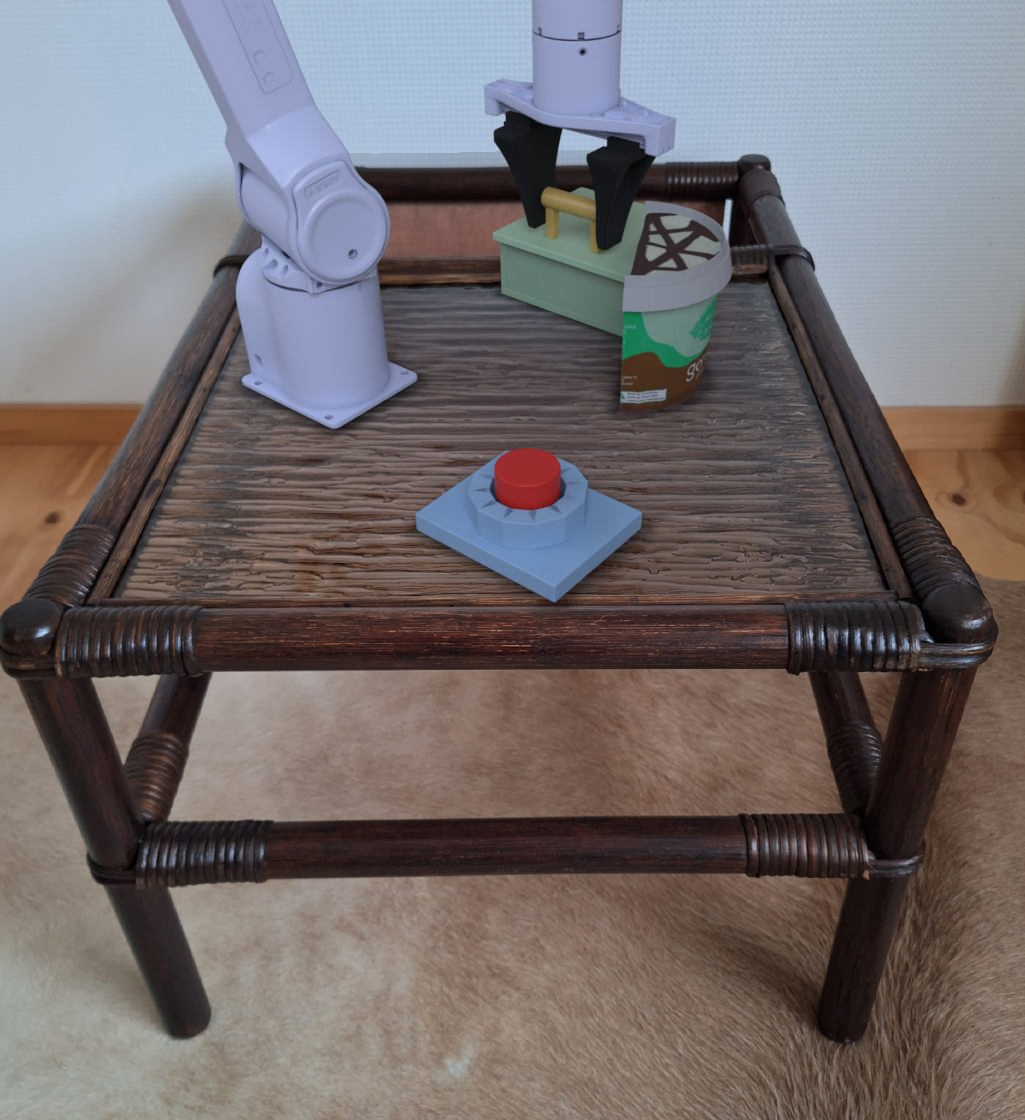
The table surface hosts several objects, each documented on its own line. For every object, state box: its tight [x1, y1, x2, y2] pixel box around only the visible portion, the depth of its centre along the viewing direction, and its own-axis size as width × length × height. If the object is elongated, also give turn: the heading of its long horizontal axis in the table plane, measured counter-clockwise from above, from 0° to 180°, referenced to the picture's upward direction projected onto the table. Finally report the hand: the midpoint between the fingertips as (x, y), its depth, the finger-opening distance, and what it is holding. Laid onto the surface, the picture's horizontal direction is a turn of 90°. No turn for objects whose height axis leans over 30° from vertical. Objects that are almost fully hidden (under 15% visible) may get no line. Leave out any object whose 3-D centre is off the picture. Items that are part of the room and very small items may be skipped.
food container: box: [619, 200, 733, 414], centre depth 70 cm, size 12×6×10 cm, turn 168°
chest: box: [499, 242, 624, 338], centre depth 82 cm, size 10×12×5 cm
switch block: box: [414, 450, 643, 604], centre depth 60 cm, size 10×8×3 cm
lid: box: [491, 186, 645, 283], centre depth 79 cm, size 11×12×4 cm
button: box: [494, 447, 561, 511], centre depth 59 cm, size 4×4×2 cm
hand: (574, 233), depth 77 cm, fingers open, 6 cm apart
